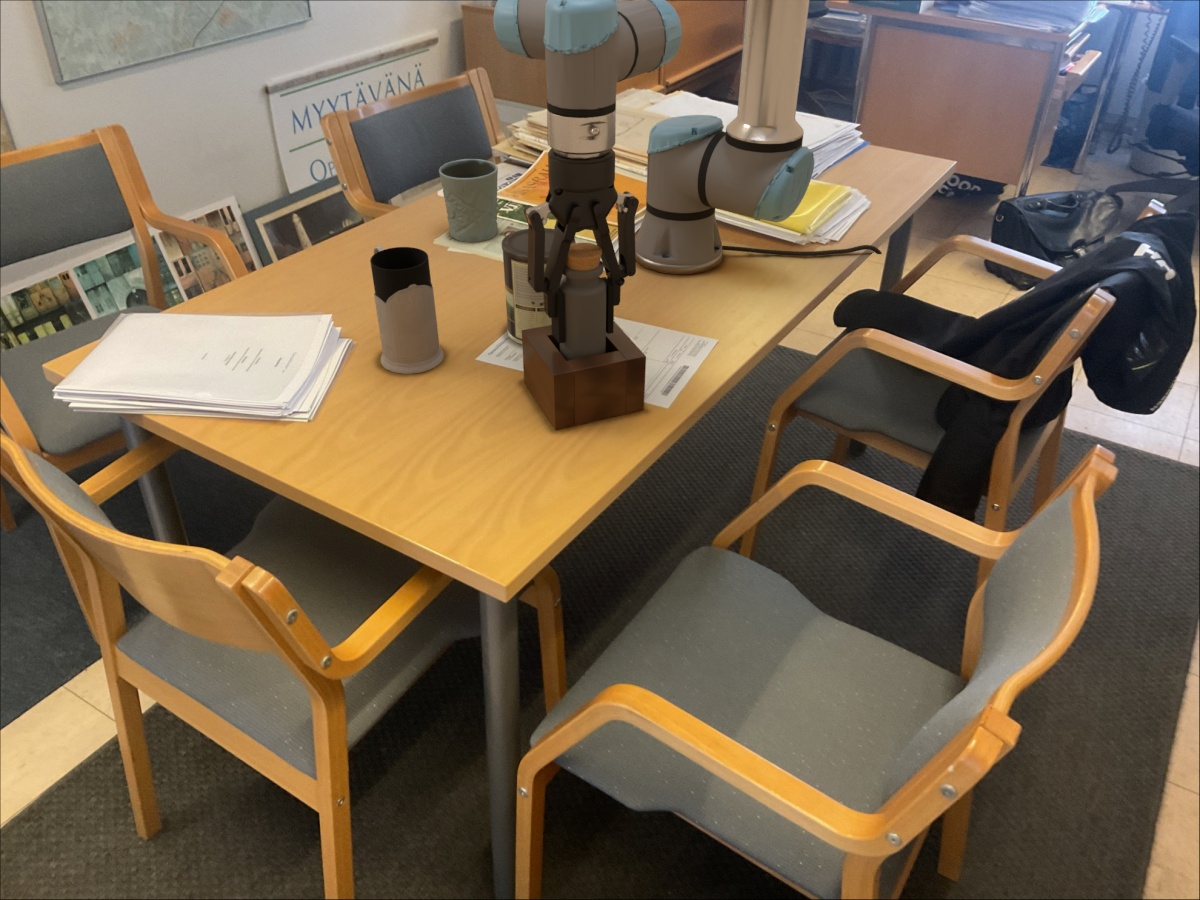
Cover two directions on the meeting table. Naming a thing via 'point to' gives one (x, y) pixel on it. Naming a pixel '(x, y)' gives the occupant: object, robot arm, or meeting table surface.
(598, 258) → the bottle
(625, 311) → the meeting table surface
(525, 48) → the robot arm
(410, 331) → the glass holder
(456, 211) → the grey cup
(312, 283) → the meeting table surface
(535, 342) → the bottle stand
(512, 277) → the coffee can
